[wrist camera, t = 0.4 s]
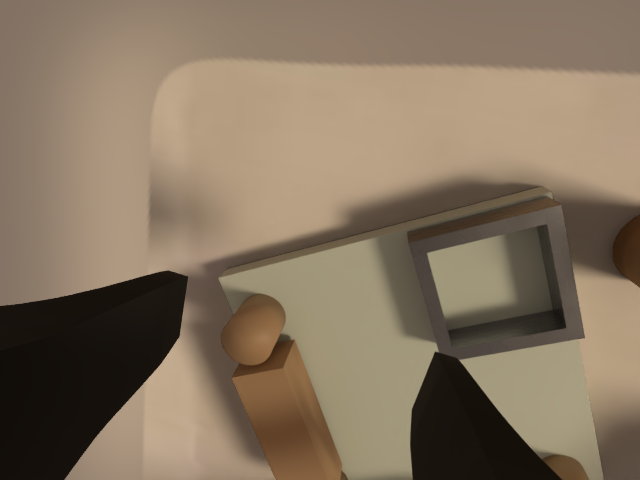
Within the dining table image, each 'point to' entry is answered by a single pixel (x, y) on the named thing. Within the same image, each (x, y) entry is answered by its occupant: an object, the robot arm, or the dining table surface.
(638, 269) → the loose leg
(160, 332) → the robot arm
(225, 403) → the dining table surface
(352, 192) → the dining table surface
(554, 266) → the socket
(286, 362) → the folding leg
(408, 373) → the seat board
